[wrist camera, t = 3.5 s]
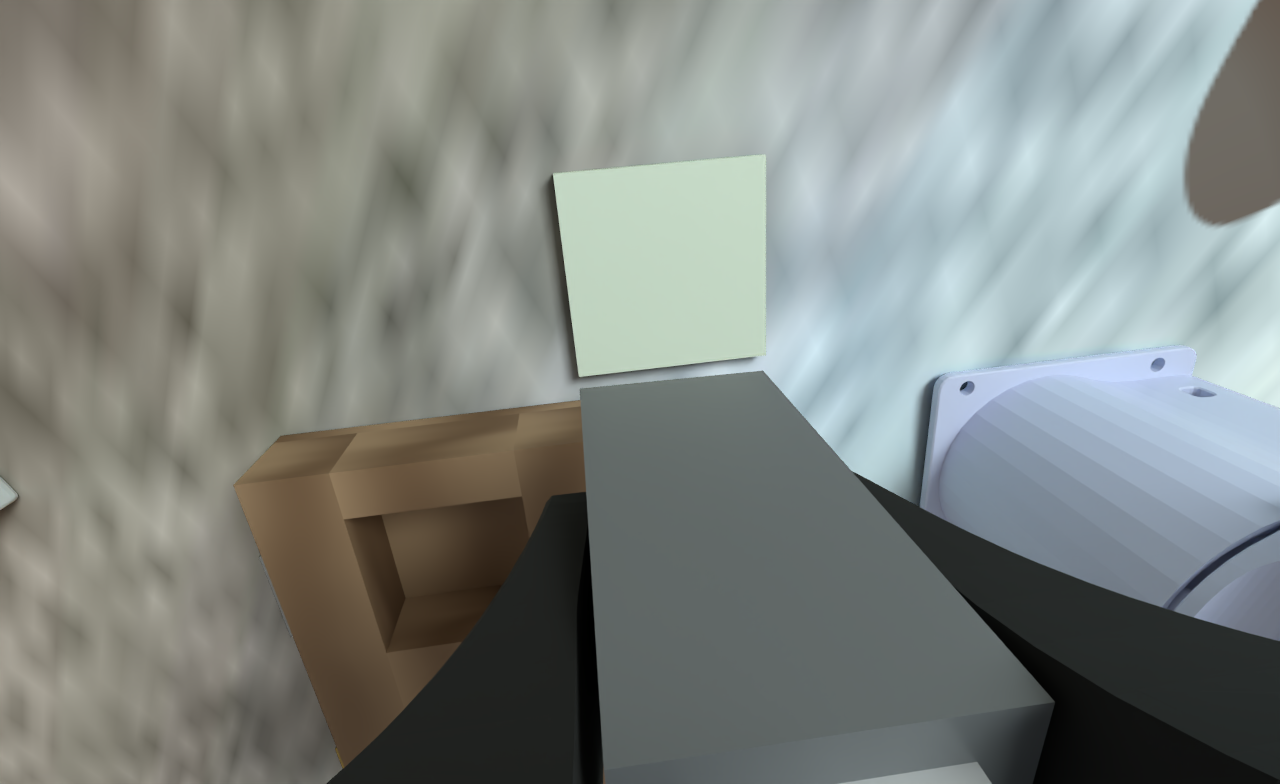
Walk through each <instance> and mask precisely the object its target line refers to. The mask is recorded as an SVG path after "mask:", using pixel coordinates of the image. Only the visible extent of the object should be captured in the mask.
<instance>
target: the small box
mask: <svg viewBox="0 0 1280 784" xmlns="http://www.w3.org/2000/svg"><path fill="white" fill-rule="evenodd" d="M17 498H18V494H17V493H16V492H15V491H14V490H13V489H12V487H11V486H10V485H9V484H8V483H7V482H6V481H5V480H4V479H3V478H2V477H1V476H0V510H1V509H3V508H5V507H6V506H8V505H9V504H11V503H13V502H14V501H15V500H16V499H17Z"/></svg>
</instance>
